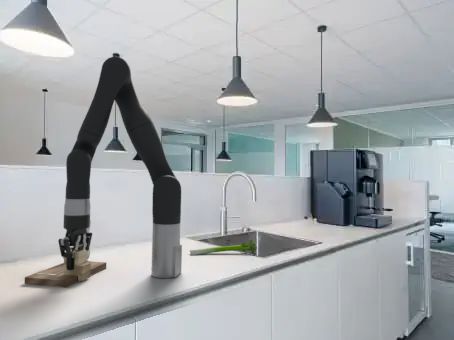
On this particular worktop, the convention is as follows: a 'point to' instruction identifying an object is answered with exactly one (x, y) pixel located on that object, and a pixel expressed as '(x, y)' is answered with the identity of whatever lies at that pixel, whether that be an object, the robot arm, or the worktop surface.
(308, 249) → the worktop surface
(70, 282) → the board
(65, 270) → the stepped wooden block
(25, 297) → the worktop surface
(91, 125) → the robot arm
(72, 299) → the worktop surface
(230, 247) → the leek
